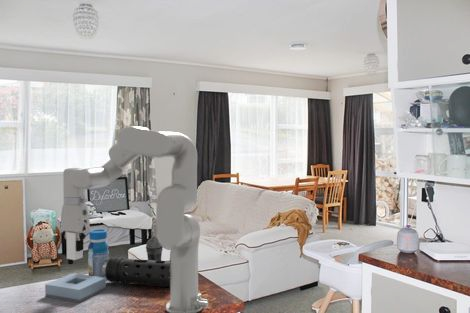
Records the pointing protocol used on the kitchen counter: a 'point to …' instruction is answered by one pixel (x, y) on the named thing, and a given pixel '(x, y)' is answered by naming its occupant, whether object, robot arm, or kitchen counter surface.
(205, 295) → the kitchen counter surface
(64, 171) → the robot arm
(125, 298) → the kitchen counter surface
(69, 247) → the white square peg
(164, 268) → the muzzle brake
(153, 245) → the beverage cup
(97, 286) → the socket plate
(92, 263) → the beverage bottle
